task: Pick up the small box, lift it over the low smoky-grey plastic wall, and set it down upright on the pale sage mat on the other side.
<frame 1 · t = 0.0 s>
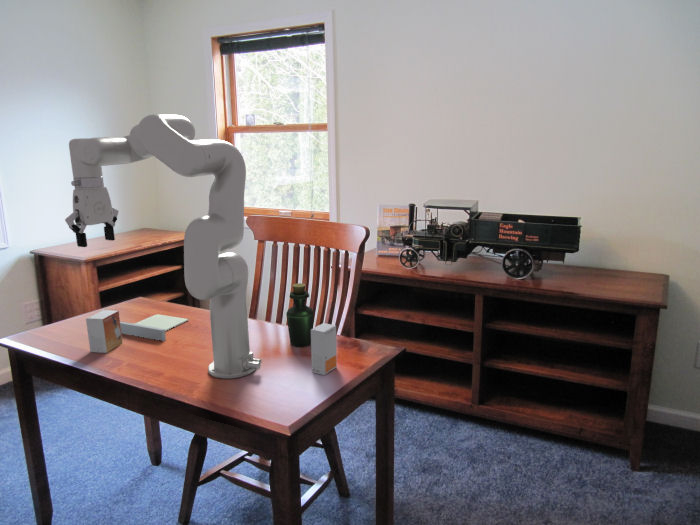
hand: (96, 243, 159), 31 cm above the table, tool pointing down, fingers open, 9 cm apart
low wall: (135, 335, 174), on the table
small box: (106, 348, 164), on the table
potion bottle: (301, 343, 165), on the table
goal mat: (157, 324, 182), on the table
skincare box: (324, 370, 146), on the table
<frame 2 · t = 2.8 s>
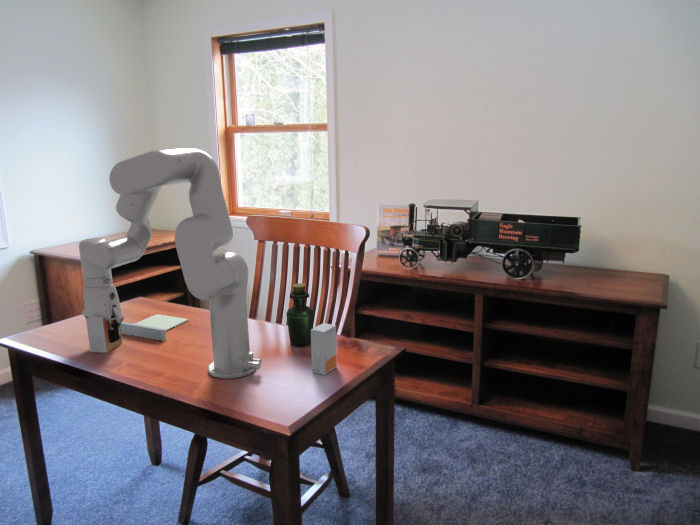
hand: (105, 339, 163), 3 cm above the table, tool pointing down, fingers closed on small box, 6 cm apart
small box: (106, 348, 164), on the table, touching gripper
everything else where it was.
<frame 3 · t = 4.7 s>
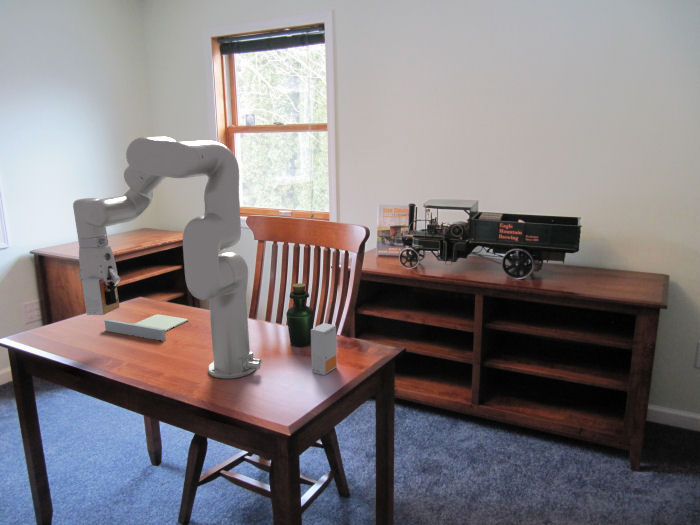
hand: (102, 302, 160), 14 cm above the table, tool pointing down, fingers closed on small box, 6 cm apart
small box: (103, 311, 161), point 11 cm above the table, touching gripper
everything else where it was.
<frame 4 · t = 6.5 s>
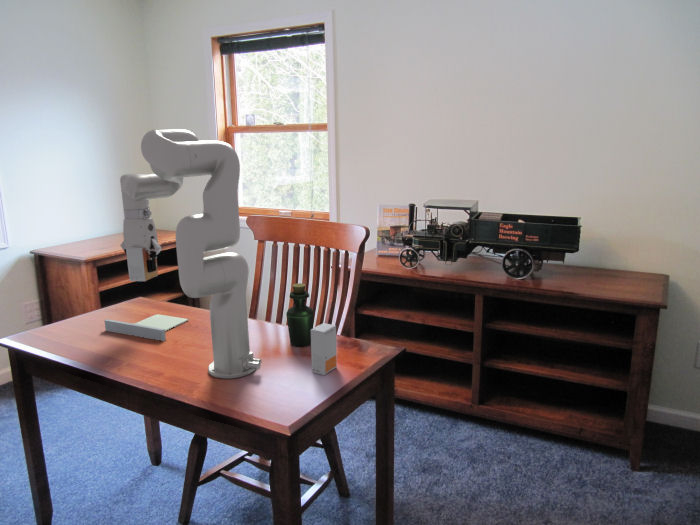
hand: (143, 270, 174), 20 cm above the table, tool pointing down, fingers closed on small box, 6 cm apart
small box: (144, 278, 175), point 17 cm above the table, touching gripper
everything else where it was.
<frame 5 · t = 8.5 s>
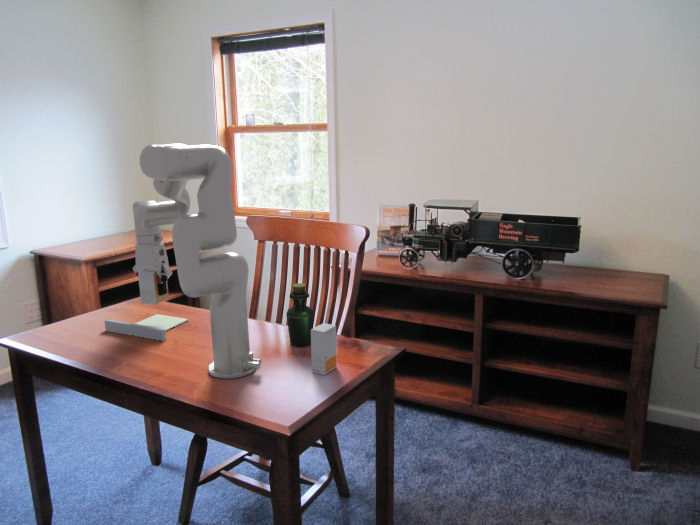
hand: (154, 292, 180), 11 cm above the table, tool pointing down, fingers closed on small box, 6 cm apart
small box: (155, 301, 181), point 8 cm above the table, touching gripper
everything else where it was.
when the fingers open (4 cm above the table, at t = 10.2 s): small box drops 1 cm, resting on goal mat.
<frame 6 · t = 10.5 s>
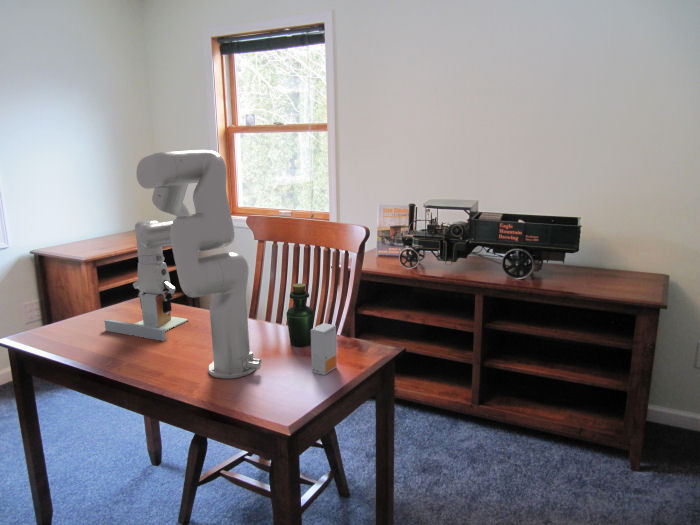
hand: (156, 309, 181), 5 cm above the table, tool pointing down, fingers open, 9 cm apart
small box: (157, 323, 182), resting on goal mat
everything else where it was.
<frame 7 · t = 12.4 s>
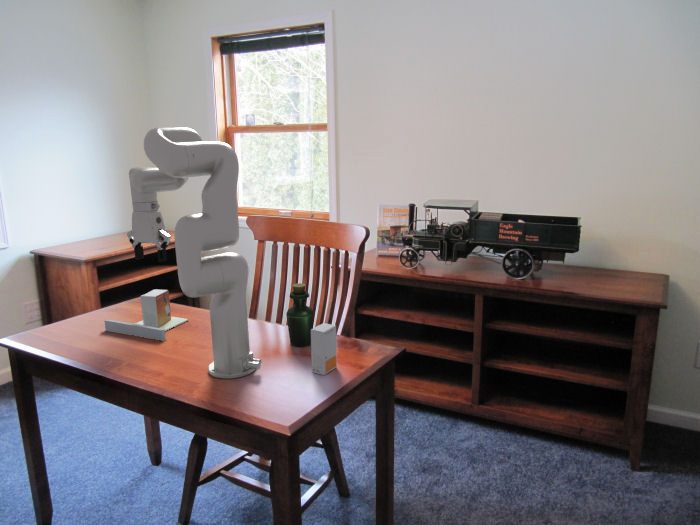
hand: (151, 260, 177), 22 cm above the table, tool pointing down, fingers open, 9 cm apart
nothing on the table moved.
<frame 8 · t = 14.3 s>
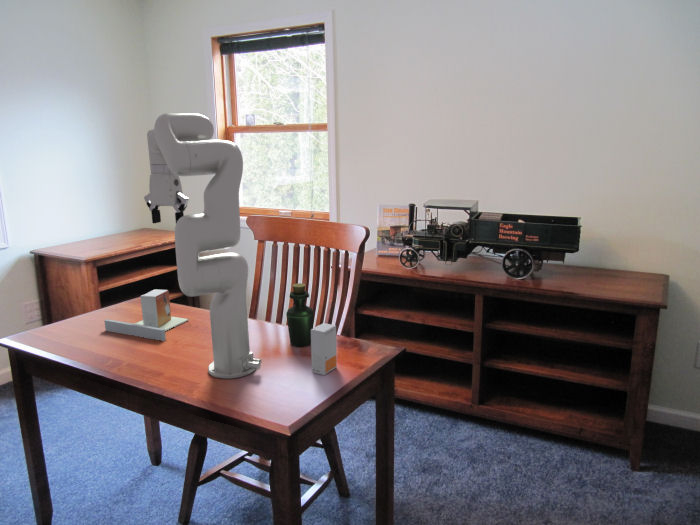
hand: (168, 223, 177), 33 cm above the table, tool pointing down, fingers open, 9 cm apart
nothing on the table moved.
at the end: small box inside the target area on the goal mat (0.1 cm from its centre), point 0.4 cm above the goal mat's base; small box tilted 0°; the gripper is holding nothing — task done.
